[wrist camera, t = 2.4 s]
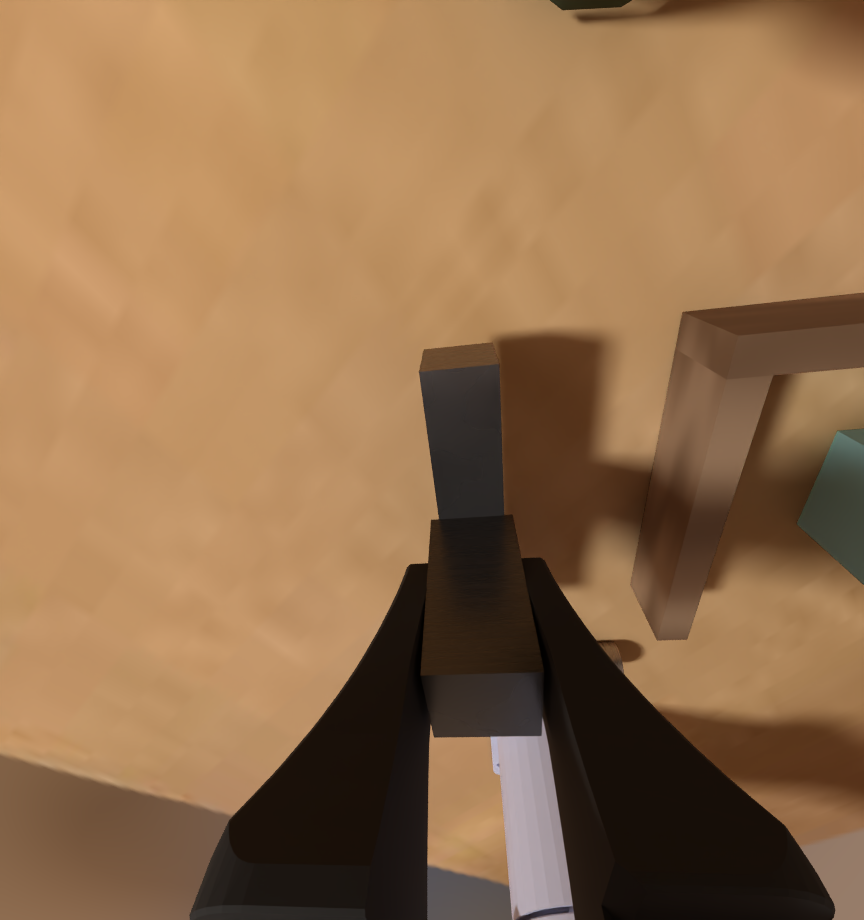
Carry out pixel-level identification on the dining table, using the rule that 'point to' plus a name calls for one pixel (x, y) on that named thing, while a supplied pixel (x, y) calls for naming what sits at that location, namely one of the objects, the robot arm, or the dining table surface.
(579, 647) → the robot arm
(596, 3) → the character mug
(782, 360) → the wooden u-shaped frame
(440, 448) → the dark grey bar
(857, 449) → the teal block
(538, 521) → the dining table surface
